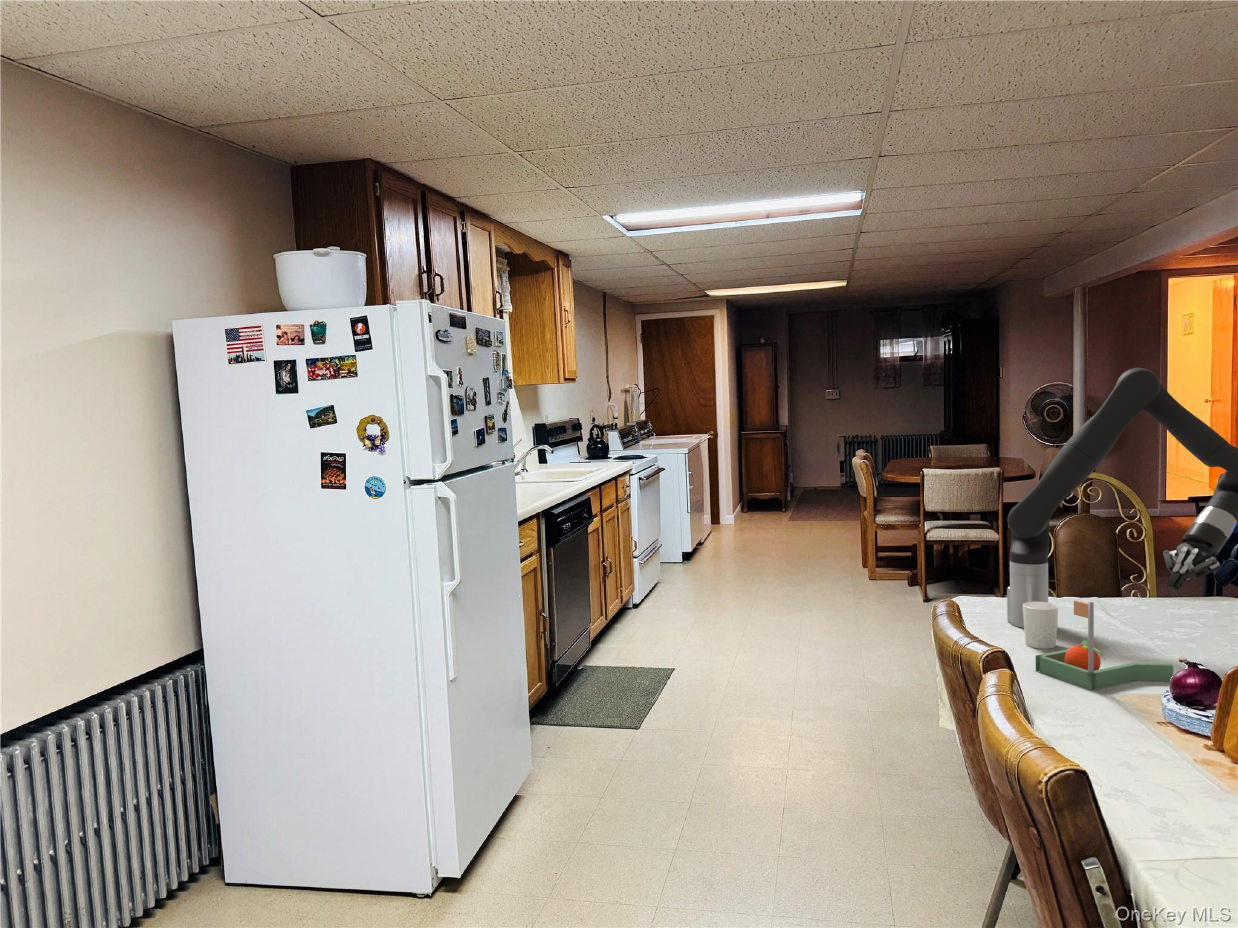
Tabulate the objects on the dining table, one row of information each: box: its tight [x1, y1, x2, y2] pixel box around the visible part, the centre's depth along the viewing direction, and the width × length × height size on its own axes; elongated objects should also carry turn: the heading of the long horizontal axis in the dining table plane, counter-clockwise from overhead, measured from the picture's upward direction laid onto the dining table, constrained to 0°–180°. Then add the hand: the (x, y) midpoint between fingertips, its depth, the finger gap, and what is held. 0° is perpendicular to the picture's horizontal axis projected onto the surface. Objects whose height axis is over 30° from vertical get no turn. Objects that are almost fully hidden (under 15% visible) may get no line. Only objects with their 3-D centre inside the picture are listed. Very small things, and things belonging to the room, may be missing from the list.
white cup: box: [1023, 602, 1059, 650], centre depth 207 cm, size 8×8×10 cm
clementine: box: [1065, 644, 1106, 671], centre depth 183 cm, size 8×7×7 cm
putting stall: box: [1035, 600, 1174, 691], centre depth 185 cm, size 22×20×18 cm
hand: (1171, 588), depth 192 cm, fingers closed
